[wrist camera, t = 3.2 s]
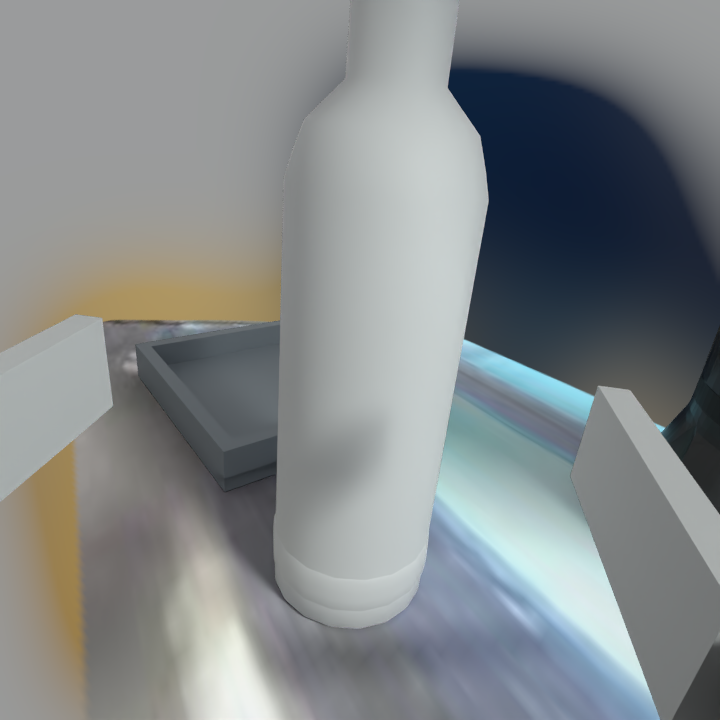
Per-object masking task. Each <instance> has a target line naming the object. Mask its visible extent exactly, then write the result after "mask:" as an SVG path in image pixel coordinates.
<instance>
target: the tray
mask: <svg viewBox="0 0 720 720" xmlns="http://www.w3.org/2000/svg"><path fill="white" fill-rule="evenodd" d="M135 346H136V356H137V366H138V376H139V377H140V379H141V380H142V381H143V383H144V384H145V385H146V387H147V388H148V389H149V391H150V392H151V393H152V395H153V396H154V397H155V399H156V400H157V401H158V403H159V404H160V406H161V407H162V408H163V410H164V411H165V412H166V414H167V415H168V416H169V418H170V419H171V420H172V422H173V423H174V424H175V426H176V427H177V428H178V430H179V431H180V432H181V434H182V435H183V436H184V438H185V439H186V441H187V442H188V443H189V445H190V446H191V447H192V449H193V450H194V451H195V453H196V454H197V455H198V457H199V458H200V459H201V461H202V462H203V463H204V465H205V466H206V467H207V469H208V470H209V472H210V473H211V474H212V476H213V477H214V478H215V480H216V481H217V482H218V484H219V485H220V486H221V488H222V489H223V490H224V492H226V491H229V490H231V489H234V488H237V487H240V486H243V485H246V484H248V483H251V482H254V481H257V480H260V479H263V478H265V477H268V476H271V475H274V474H277V441H278V399H279V356H280V321H274V322H268V323H262V324H255V325H249V326H243V327H237V328H231V329H225V330H219V331H213V332H207V333H200V334H194V335H188V336H182V337H176V338H170V339H164V340H158V341H152V342H146V343H139V344H135Z"/></svg>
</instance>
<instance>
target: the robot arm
mask: <svg viewBox="0 0 720 720" xmlns="http://www.w3.org/2000/svg"><path fill="white" fill-rule="evenodd" d="M111 407H113V401H112V393H111V385H110V377H109V369H108V361H107V353H106V345H105V338H104V330H103V322H102V318H99V317H91V316H84V315H77V314H76V315H74V316H72V317H70V318H68V319H66V320H64V321H62V322H60V323H58V324H56V325H54V326H52V327H50V328H48V329H46V330H44V331H42V332H40V333H38V334H36V335H34V336H32V337H30V338H28V339H26V340H24V341H22V342H21V343H19V344H17V345H15V346H13V347H11V348H9V349H7V350H5V351H3V352H1V353H0V502H1V501H2V500H3V499H4V498H5V497H6V496H8V495H9V494H10V493H11V492H12V491H14V490H15V489H16V488H17V487H18V486H19V485H21V484H22V483H23V482H24V481H25V480H26V479H28V478H29V477H30V476H31V475H32V474H34V473H35V472H36V471H37V470H38V469H39V468H41V467H42V466H43V465H44V464H45V463H46V462H48V461H49V460H50V459H51V458H52V457H53V456H55V455H56V454H57V453H58V452H60V451H61V450H62V449H63V448H64V447H65V446H67V445H68V444H69V443H70V442H71V441H73V440H74V439H75V438H76V437H77V436H78V435H80V434H81V433H82V432H83V431H84V430H85V429H87V428H88V427H89V426H90V425H91V424H93V423H94V422H95V421H96V420H97V419H98V418H100V417H101V416H102V415H103V414H104V413H106V412H107V411H108V410H109V409H110V408H111ZM570 477H571V480H572V482H573V485H574V488H575V490H576V493H577V496H578V498H579V501H580V504H581V507H582V509H583V512H584V515H585V517H586V520H587V523H588V525H589V528H590V531H591V533H592V536H593V539H594V542H595V544H596V547H597V550H598V552H599V555H600V558H601V560H602V563H603V566H604V569H605V571H606V574H607V577H608V579H609V582H610V585H611V587H612V590H613V593H614V596H615V598H616V601H617V604H618V606H619V609H620V612H621V614H622V617H623V620H624V622H625V625H626V628H627V631H628V633H629V636H630V639H631V641H632V644H633V647H634V649H635V652H636V655H637V658H638V660H639V663H640V666H641V668H642V671H643V674H644V676H645V679H646V682H647V685H648V687H649V690H650V693H651V695H652V698H653V701H654V703H655V706H656V709H657V711H658V714H659V717H660V720H720V327H719V329H718V332H717V334H716V337H715V339H714V342H713V345H712V347H711V350H710V352H709V355H708V357H707V360H706V362H705V365H704V367H703V371H702V374H701V376H700V378H699V381H698V383H697V386H696V389H695V391H694V393H693V395H692V398H691V400H690V402H689V403H688V404H687V406H686V407H685V408H684V409H683V410H682V411H681V412H680V413H679V414H678V415H677V416H676V417H675V419H673V421H672V422H671V423H670V424H669V425H668V426H667V427H666V428H665V429H664V430H663V431H662V432H660V431H659V430H658V428H657V427H656V426H655V424H654V423H653V421H652V420H651V419H650V417H649V416H648V414H647V413H646V412H645V410H644V409H643V407H641V405H640V403H639V402H638V401H637V399H636V398H635V396H634V395H633V394H632V392H631V391H630V390H625V389H618V388H610V387H603V386H598V388H597V391H596V394H595V397H594V401H593V404H592V407H591V410H590V414H589V417H588V420H587V423H586V426H585V430H584V433H583V436H582V439H581V443H580V446H579V449H578V452H577V455H576V459H575V462H574V465H573V468H572V472H571V475H570Z"/></svg>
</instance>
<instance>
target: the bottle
mask: <svg viewBox="0 0 720 720" xmlns="http://www.w3.org/2000/svg"><path fill="white" fill-rule="evenodd" d="M458 7H459V0H350V16H349V31H348V46H347V61H346V78H345V79H344V80H343V81H342V82H341V83H340V84H339V85H338V86H337V87H336V88H335V89H334V90H333V91H332V92H331V93H330V94H329V95H328V96H327V97H326V98H325V99H324V100H323V101H322V102H321V103H320V104H319V105H318V106H317V107H316V108H315V109H314V110H313V111H312V112H311V113H310V114H309V115H308V116H307V117H306V118H305V119H304V120H303V123H302V125H301V128H300V131H299V133H298V136H297V139H296V141H295V144H294V147H293V149H292V152H291V156H290V159H289V162H288V165H287V169H286V172H285V175H284V187H283V188H284V189H283V228H282V229H283V230H282V231H283V232H282V270H281V315H280V356H279V399H278V441H277V484H276V513H275V515H274V524H273V546H274V561H275V580H276V582H277V584H278V586H279V588H280V590H281V592H282V594H283V596H284V598H285V600H286V601H287V602H289V603H290V604H291V605H292V606H293V607H294V608H295V609H296V610H298V611H299V612H300V613H301V614H302V615H303V616H305V617H307V618H310V619H312V620H315V621H317V622H320V623H322V624H325V625H327V626H330V627H340V628H354V629H361V628H365V627H369V626H373V625H377V624H381V623H385V622H387V621H388V620H390V619H391V618H393V617H394V616H396V615H397V614H399V613H400V612H402V611H403V610H405V609H406V608H407V606H408V605H409V603H410V602H411V600H412V598H413V597H414V595H415V594H416V592H417V591H418V586H419V581H420V575H421V573H422V572H423V569H424V565H425V560H426V554H427V546H428V536H429V526H430V520H431V515H432V509H433V504H434V498H435V493H436V487H437V482H438V476H439V471H440V465H441V460H442V454H443V449H444V443H445V438H446V432H447V427H448V421H449V416H450V410H451V405H452V399H453V394H454V388H455V383H456V377H457V372H458V366H459V361H460V355H461V350H462V344H463V339H464V333H465V327H466V322H467V317H468V311H469V305H470V300H471V294H472V289H473V283H474V278H475V272H476V266H477V261H478V256H479V250H480V245H481V239H482V234H483V228H484V223H485V217H486V212H487V206H488V201H489V200H488V190H487V180H486V170H485V164H484V157H483V151H482V145H481V138H480V135H479V134H478V132H477V131H476V129H475V128H474V126H473V125H472V124H471V122H470V121H469V119H468V118H467V116H466V115H465V113H464V112H463V110H462V109H461V107H460V106H459V104H458V103H457V101H456V100H455V98H454V97H453V96H452V94H451V92H450V91H449V89H448V88H447V87H448V79H449V73H450V65H451V58H452V51H453V43H454V36H455V29H456V22H457V14H458Z"/></svg>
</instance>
